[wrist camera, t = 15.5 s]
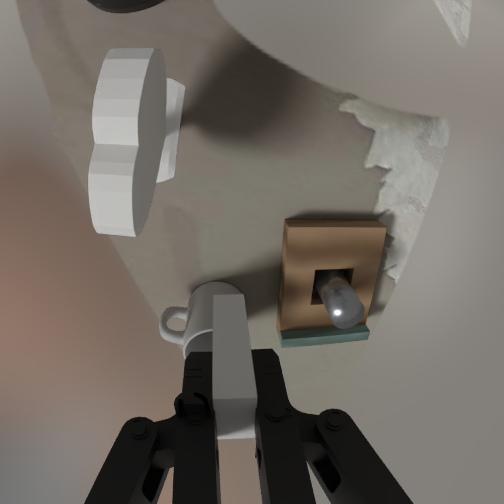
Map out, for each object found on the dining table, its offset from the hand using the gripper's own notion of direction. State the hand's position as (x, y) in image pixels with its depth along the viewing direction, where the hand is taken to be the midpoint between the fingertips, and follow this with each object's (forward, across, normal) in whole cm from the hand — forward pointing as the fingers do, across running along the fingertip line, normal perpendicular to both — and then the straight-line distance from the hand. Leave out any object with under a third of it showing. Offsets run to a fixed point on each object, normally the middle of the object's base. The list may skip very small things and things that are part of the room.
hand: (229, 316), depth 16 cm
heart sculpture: (+27, -8, +8) cm, 29 cm away
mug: (+27, -3, -17) cm, 32 cm away
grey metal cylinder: (+26, +15, -13) cm, 33 cm away
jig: (+26, +15, -13) cm, 33 cm away
